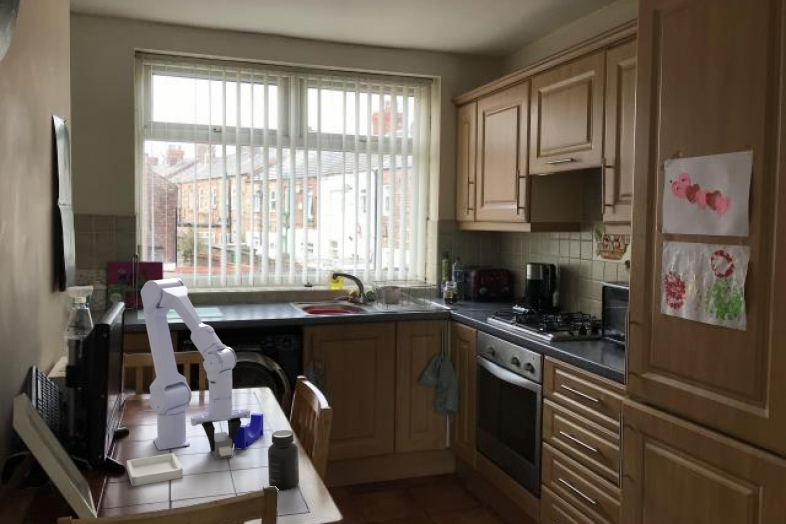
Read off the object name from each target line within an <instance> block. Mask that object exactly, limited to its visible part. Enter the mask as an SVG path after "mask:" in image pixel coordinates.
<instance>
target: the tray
mask: <svg viewBox="0 0 786 524" xmlns="http://www.w3.org/2000/svg"><path fill="white" fill-rule="evenodd" d="M126 471H127V474H128V476H129V477H128V478H129V480H130V481H129V482H130V483H131V487H137V486H142V485H148V484H154V483H159V482H165V481H170V480H177V479H183V478H184V477H183V476H184V474H183V472H184V471H183V467H182V465H181V464H180V462H179V459H178V458H177V456H176V453H175V452H170V453H164V454H160V455H159V454H158V455H153V456H151V455H150V456H145V457H144V456H143V457H138V458H133V459H127V460H126Z"/></svg>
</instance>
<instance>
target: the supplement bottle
mask: <svg viewBox="0 0 786 524" xmlns="http://www.w3.org/2000/svg"><path fill="white" fill-rule="evenodd" d="M294 441H295V437H294V431H292V430H287V429H282V430H281V429H280V430H276V431H273V432H272V433H271V443H272V444H270V446H269V447H268V449H267V469H268V486H269V487H270V486H276V487H277V488H278V489H279V491H280V492H282V491H283V492H284V491H290V490H293V489H294V488H296V487H298V486H299V484H300V462H299V460H300V459H299V457H300V456H299V455H300V454H299V447H298V445H297V444H296V443H295V442H294ZM279 491H278V492H279Z"/></svg>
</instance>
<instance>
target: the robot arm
mask: <svg viewBox="0 0 786 524" xmlns="http://www.w3.org/2000/svg"><path fill="white" fill-rule="evenodd" d="M188 294H189V290H188V287H187V286H186V285H185V283H184V281H183V280H182V279H181V278H179V277H173V278H166V279H158V280H154V279H153V280H148V281H146V282H145V284H144V285H143V286H142V288H141V290H140V297H141V301H142V306H143V315H144V321H145V326H146V332H147V335H148V341H149V347H150V351H151V352H150V353H151V356H152V361H153V367H154V372H155V376H156V377H155V379H154V381H152V382H151V384H150V386H149V393H150V395H149V405H150V408H151V409H152V410H153V412H154V414H156V426H157V428H156V431H157V433H156V435H157V437H153V441H154V444H155V446H156V448H157V450H158V451H162V450H169V449H174V448H182V447H188V446H190V445H191V442H190V441H189V440H188V438H187V424H186V422H187V421H186V410H187V409H188V405H189V404H190V403H191V401H192V397H193V396H192V395H193V394H192V390H191V388H190V386H189V384H188V382H187V381H188V380H187V378H186V377H185V376H184V375H182V374H180V372H178V367H177V362H176V358H175V352H174V347H173V343H172V338H171V332H170V328H169V323H168V318H167V315H168V314H169V312H170V310H174V311H175V313H176V314H177V315H178V316H179V317H180V319H181V320H182V321H183V323H184V324H185V325H186V326H187V328H188V329H189V330H190V332H191V334H190V340H191V341H192V343H193V344H194V346H195V347H196V348H197V351H198V352H199V353H200V355H201V356H202V358H203V359H204V361H202V365H203V369H204V370H205V372H206V378H207V380H208V406H209V407H208V408H209V412H206V413H202V414H197V415H193V416H190V425H191V426H192V427H196V426H198V425H201V426H202V429H203V430H204V433H205V435H206V437H207V439H208V444H209V450H211V451H212V452H214V451H215V443H214V433H216V431H215V429H216V428H215V426H214V423H218V422H225V421H227V429H228V433H227V434H228V435H229V436H230V438H231V439H232V450H233V449H234V440H235V437H236V434H237V432H238V430H239V428H240V426H241V425H242V420H241V419H251V410H250V409H249V408H244V409H234V408H233V369H234V368H235V367H236V365H237V359H238V358H237V355H236V352H235V350H234V349H233V348H231V347H229V346H227V345H226V344H223V342H222V341H221V339H220V338H219V337H218V335H217V334H216V332H215V329H214V328H213V327H212V326H211V325H209V324H205V323H204V322H203V321H202V318H200V316H199V314H198V313H197V311H196V308H195V307H194V306H193V304H192V301H191V300H190V298H189V295H188ZM211 451H210V452H211ZM212 452H211V453H212Z"/></svg>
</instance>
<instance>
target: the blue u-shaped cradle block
mask: <svg viewBox="0 0 786 524" xmlns="http://www.w3.org/2000/svg"><path fill="white" fill-rule="evenodd" d="M262 436H264V414H263V413H257V412H256V413H255V412H253V413H250V422H249V423H246V424H245V425H244V424H241V426H240V428H239V430H238V432H237V434H236V437H235V440H234V445H233V449H236V448H241V449H240V450H245V448H246V447H247V448H249V446H250V444H251V445H252V444H253V443H255V442H256V441H257V440H258V439H259V437H260V438H261V437H262ZM255 440H256V441H255ZM247 448H246V449H247Z"/></svg>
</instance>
